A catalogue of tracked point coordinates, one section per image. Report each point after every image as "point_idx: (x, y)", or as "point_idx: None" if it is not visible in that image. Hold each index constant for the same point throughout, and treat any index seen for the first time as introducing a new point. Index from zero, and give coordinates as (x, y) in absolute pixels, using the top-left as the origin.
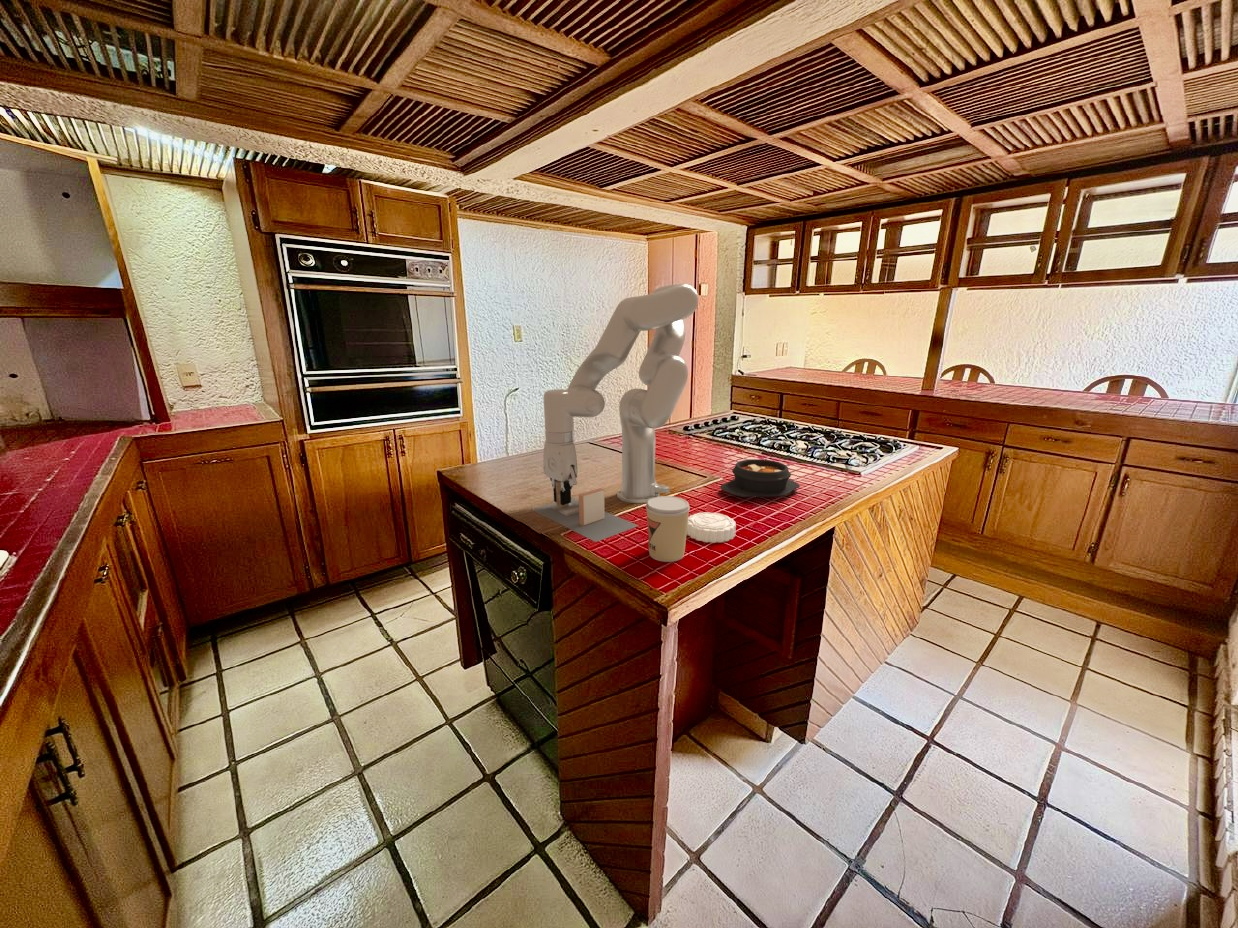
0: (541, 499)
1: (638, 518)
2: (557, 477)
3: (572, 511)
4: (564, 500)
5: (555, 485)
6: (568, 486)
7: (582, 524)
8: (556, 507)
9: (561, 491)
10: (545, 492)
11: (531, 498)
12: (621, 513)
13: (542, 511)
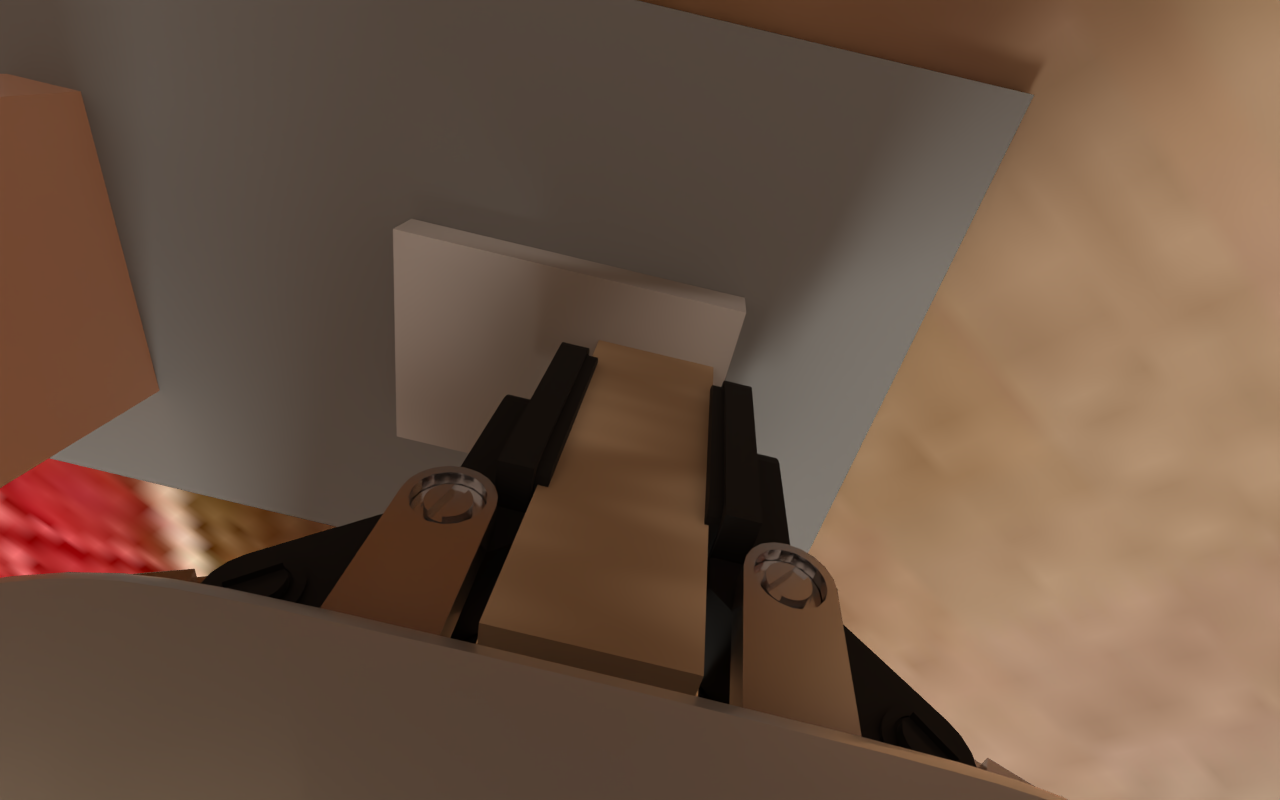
0: (1097, 480)
1: (15, 522)
2: (205, 711)
3: (396, 312)
4: (525, 400)
5: (736, 592)
6: (234, 562)
7: (4, 76)
8: (656, 305)
9: (497, 467)
10: (1161, 640)
11: (1267, 450)
12: (177, 542)
13: (801, 140)
